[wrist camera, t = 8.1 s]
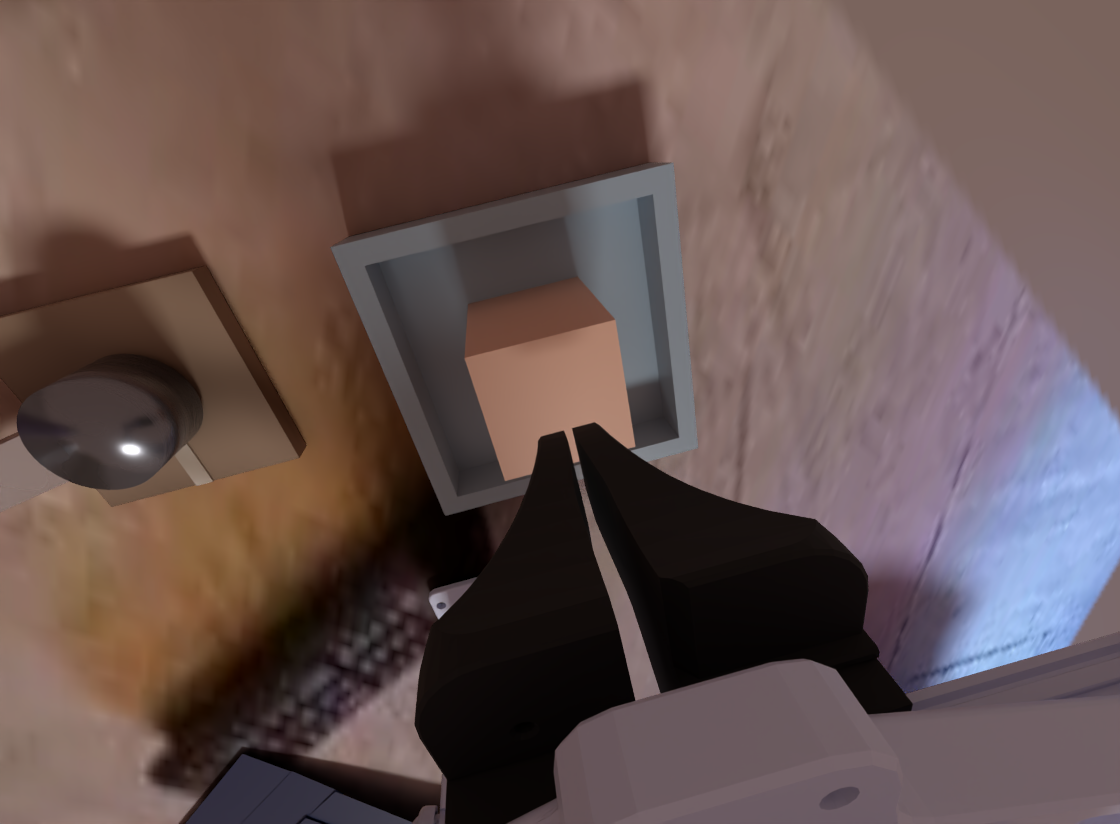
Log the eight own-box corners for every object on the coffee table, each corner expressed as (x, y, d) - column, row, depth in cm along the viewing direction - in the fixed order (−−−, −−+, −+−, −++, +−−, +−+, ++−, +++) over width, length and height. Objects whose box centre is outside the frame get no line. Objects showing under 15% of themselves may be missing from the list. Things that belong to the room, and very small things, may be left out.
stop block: (596, 376, 21) (635, 446, 16) (498, 402, 21) (505, 480, 16) (577, 276, 19) (615, 319, 14) (468, 304, 19) (464, 358, 14)
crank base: (306, 445, 21) (298, 459, 20) (126, 492, 21) (109, 508, 20) (205, 265, 18) (190, 271, 17) (-16, 320, 17) (-45, 329, 16)
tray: (677, 421, 24) (697, 447, 22) (448, 482, 23) (445, 515, 21) (649, 162, 18) (673, 162, 16) (348, 236, 18) (330, 247, 16)
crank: (147, 336, 17) (57, 383, 13) (226, 424, 19) (167, 487, 15) (-131, 465, 18) (-290, 544, 14) (-27, 538, 20) (-143, 625, 16)
